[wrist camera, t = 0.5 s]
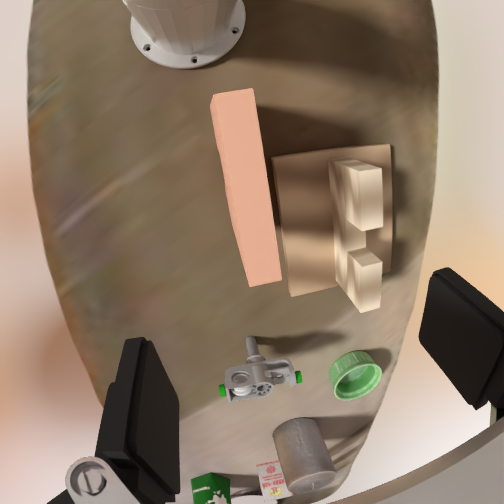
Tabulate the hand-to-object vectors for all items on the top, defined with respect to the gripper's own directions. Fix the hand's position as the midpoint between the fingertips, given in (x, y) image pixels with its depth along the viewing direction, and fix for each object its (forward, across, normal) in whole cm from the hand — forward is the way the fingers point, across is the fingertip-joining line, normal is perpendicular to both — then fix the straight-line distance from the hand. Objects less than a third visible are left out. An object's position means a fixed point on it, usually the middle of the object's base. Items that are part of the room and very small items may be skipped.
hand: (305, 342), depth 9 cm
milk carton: (+28, +18, +70) cm, 78 cm away
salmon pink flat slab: (+28, 0, -1) cm, 28 cm away
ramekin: (+28, -15, +36) cm, 48 cm away
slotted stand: (+28, -13, +8) cm, 32 cm away
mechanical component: (+28, +1, +24) cm, 37 cm away
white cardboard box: (+28, +2, +67) cm, 72 cm away
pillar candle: (+28, -4, +52) cm, 59 cm away
